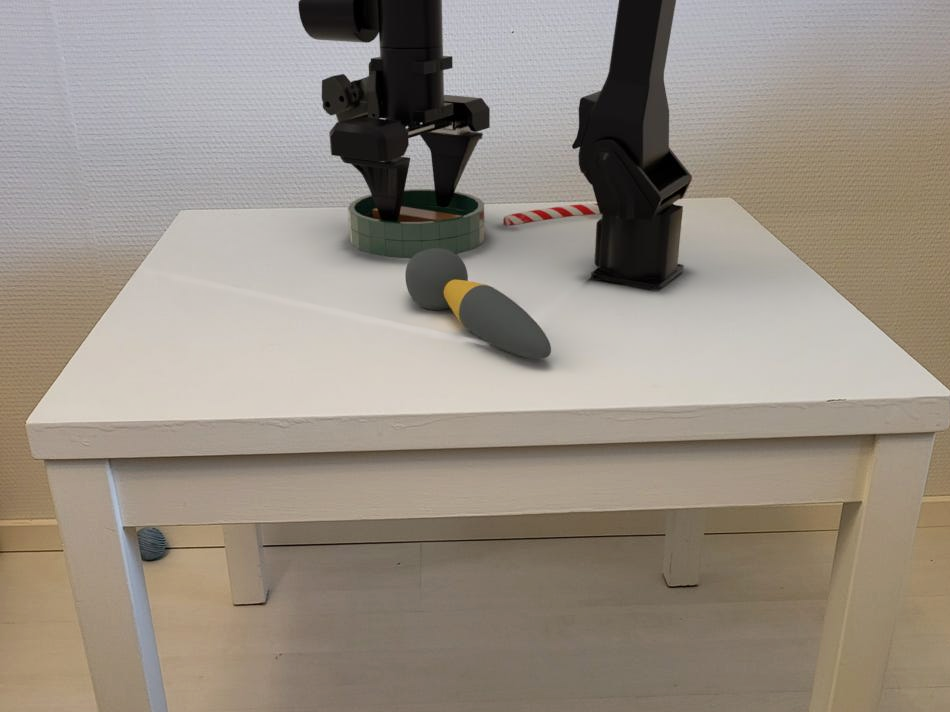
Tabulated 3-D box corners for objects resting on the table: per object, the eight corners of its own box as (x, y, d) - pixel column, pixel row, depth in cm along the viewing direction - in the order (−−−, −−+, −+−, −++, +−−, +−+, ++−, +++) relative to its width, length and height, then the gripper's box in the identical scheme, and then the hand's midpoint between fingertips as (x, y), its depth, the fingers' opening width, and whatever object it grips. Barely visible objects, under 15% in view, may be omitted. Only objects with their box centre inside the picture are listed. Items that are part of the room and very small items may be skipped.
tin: (508, 234, 100) (508, 198, 98) (437, 269, 90) (436, 230, 88) (401, 217, 106) (399, 183, 104) (323, 248, 96) (320, 211, 94)
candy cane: (497, 206, 105) (634, 200, 107) (497, 219, 105) (633, 212, 107) (512, 227, 98) (657, 219, 100) (512, 240, 98) (656, 231, 101)
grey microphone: (586, 357, 72) (589, 291, 70) (534, 374, 70) (535, 306, 67) (429, 288, 86) (427, 231, 83) (381, 300, 83) (377, 242, 81)
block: (462, 240, 97) (462, 215, 96) (449, 247, 95) (448, 221, 94) (387, 228, 101) (386, 203, 100) (373, 234, 99) (371, 209, 98)
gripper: (397, 31, 100) (403, 187, 108) (274, 51, 86) (291, 228, 94) (492, 37, 95) (492, 200, 103) (378, 59, 81) (387, 246, 89)
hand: (417, 217), depth 97 cm, fingers open, 9 cm apart
